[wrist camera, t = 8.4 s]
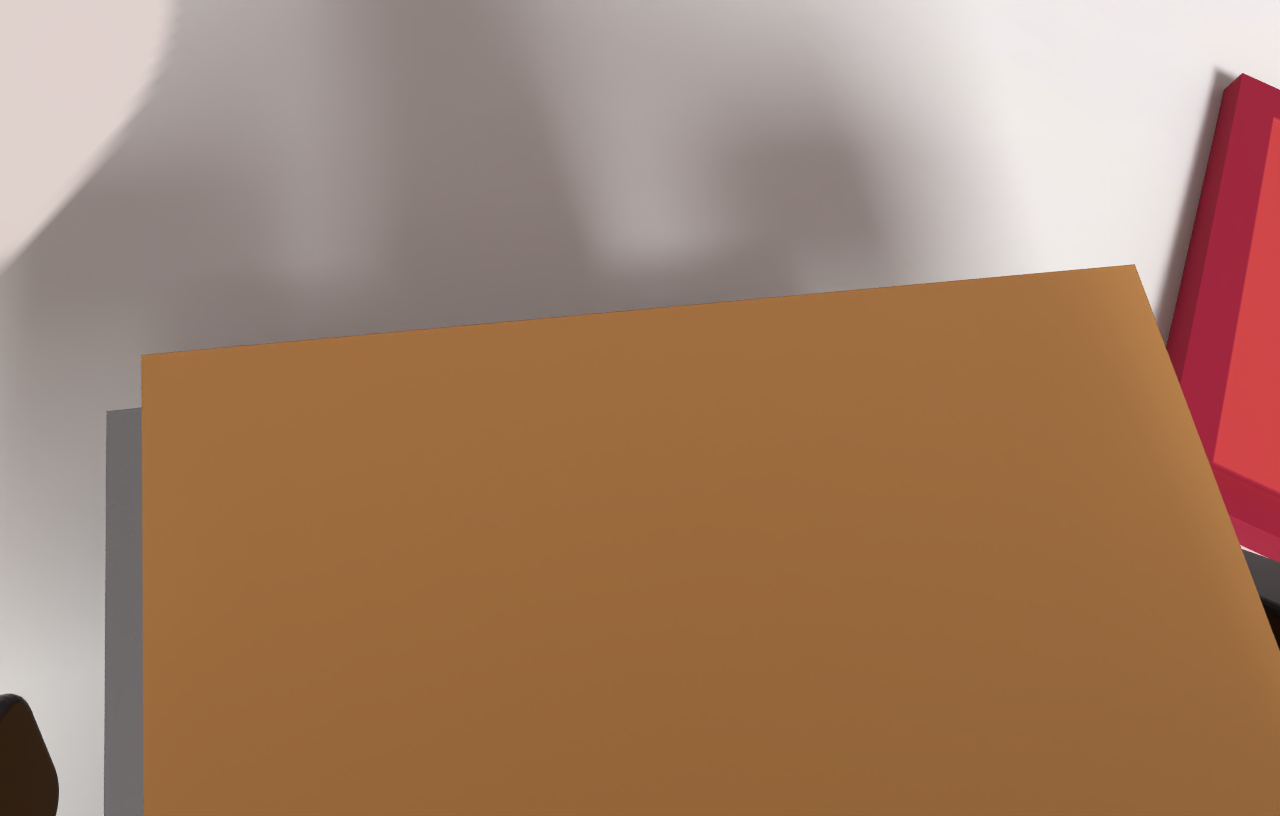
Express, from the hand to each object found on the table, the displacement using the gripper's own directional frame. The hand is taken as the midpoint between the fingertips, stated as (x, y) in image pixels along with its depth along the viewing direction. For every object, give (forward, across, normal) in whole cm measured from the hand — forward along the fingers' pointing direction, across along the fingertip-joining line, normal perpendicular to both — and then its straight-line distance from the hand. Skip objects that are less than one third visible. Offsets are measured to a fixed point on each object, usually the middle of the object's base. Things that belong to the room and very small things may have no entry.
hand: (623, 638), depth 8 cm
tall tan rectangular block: (+5, 0, +7) cm, 8 cm away
